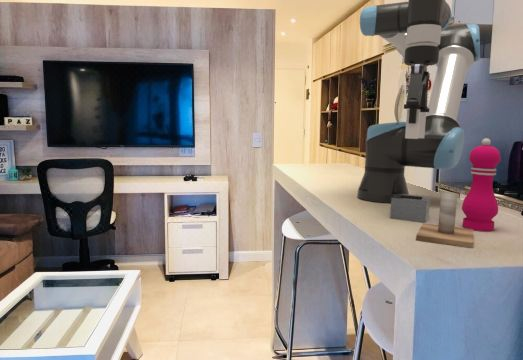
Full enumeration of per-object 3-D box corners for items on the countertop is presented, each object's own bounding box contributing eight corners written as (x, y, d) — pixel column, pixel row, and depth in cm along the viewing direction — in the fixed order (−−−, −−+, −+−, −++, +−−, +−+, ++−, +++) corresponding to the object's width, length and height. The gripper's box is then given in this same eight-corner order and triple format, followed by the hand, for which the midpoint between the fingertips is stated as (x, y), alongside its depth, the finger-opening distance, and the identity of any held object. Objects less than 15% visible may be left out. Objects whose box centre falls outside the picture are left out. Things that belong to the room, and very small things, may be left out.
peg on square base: (422, 227, 93) (425, 187, 92) (472, 233, 89) (476, 191, 88) (415, 240, 82) (419, 194, 81) (472, 248, 78) (477, 200, 77)
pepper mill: (501, 233, 90) (510, 139, 88) (464, 230, 92) (473, 138, 89) (490, 225, 97) (498, 138, 95) (456, 223, 99) (464, 137, 96)
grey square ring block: (395, 212, 109) (396, 193, 108) (428, 216, 106) (429, 196, 105) (389, 218, 102) (391, 197, 101) (425, 222, 98) (426, 201, 98)
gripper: (412, 56, 111) (406, 137, 114) (397, 37, 89) (390, 138, 92) (442, 55, 108) (436, 138, 111) (435, 34, 86) (426, 139, 88)
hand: (415, 138), depth 101 cm, fingers open, 13 cm apart
